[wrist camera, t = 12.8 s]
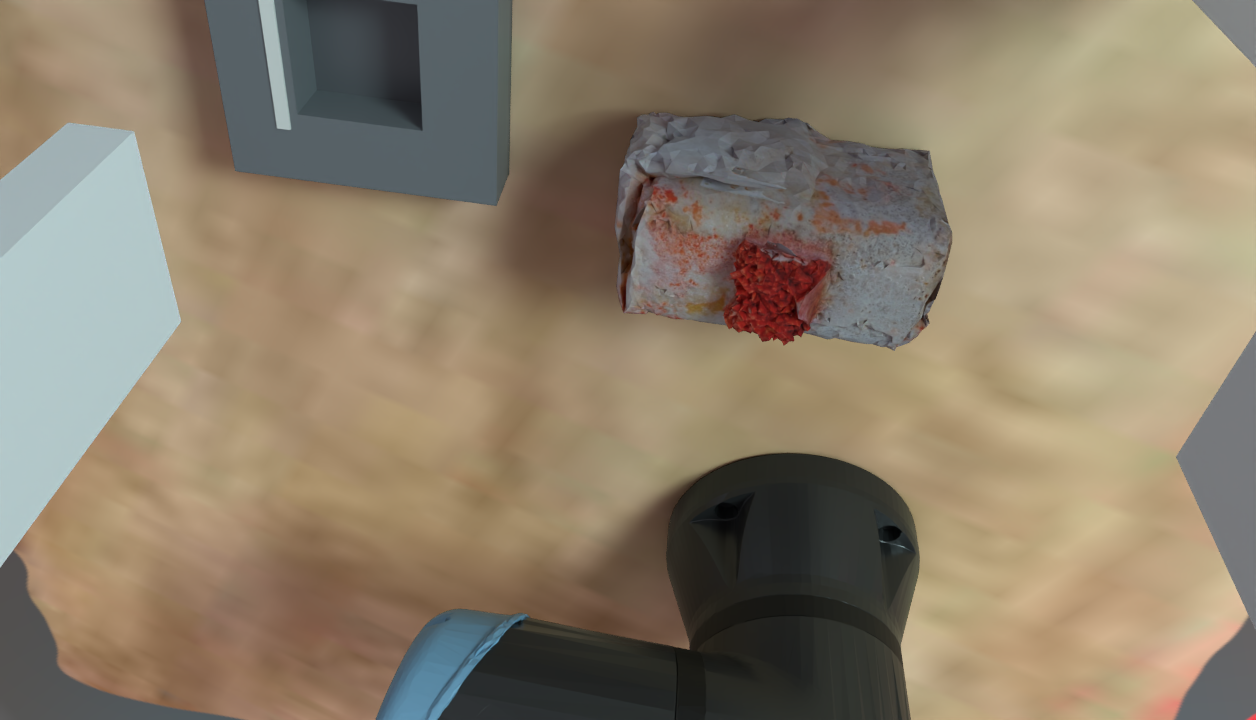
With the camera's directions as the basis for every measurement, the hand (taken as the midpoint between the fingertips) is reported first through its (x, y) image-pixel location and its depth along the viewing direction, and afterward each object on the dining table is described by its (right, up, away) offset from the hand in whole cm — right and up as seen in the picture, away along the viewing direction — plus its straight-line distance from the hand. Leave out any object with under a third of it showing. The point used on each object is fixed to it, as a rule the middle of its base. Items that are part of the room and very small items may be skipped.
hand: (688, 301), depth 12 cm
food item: (+6, +8, +34) cm, 36 cm away
